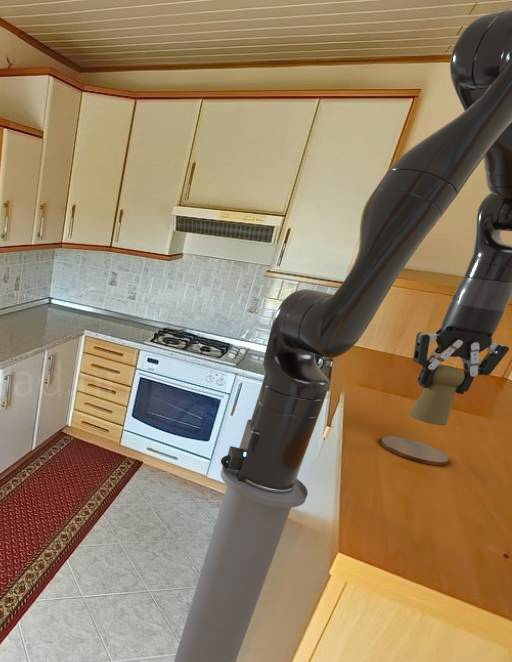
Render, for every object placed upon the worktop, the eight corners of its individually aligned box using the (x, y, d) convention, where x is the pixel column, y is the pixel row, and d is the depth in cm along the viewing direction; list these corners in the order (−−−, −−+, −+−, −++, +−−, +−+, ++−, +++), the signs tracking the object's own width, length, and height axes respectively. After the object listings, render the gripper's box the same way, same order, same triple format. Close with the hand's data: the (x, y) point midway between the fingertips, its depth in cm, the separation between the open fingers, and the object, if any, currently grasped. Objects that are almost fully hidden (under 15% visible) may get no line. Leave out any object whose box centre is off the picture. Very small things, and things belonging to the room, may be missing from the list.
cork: (454, 427, 95) (479, 374, 91) (420, 422, 95) (443, 369, 92) (433, 415, 100) (455, 364, 97) (401, 410, 101) (423, 360, 97)
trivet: (392, 457, 97) (394, 453, 97) (372, 435, 107) (373, 431, 107) (458, 470, 94) (460, 466, 94) (431, 446, 104) (433, 443, 104)
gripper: (442, 301, 88) (405, 388, 94) (540, 313, 84) (496, 403, 90) (422, 295, 95) (390, 377, 101) (513, 307, 91) (473, 391, 97)
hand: (440, 389), depth 96 cm, fingers closed on cork, 5 cm apart
